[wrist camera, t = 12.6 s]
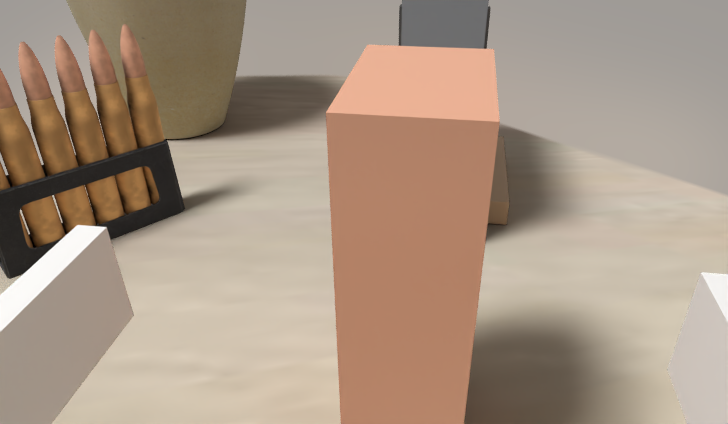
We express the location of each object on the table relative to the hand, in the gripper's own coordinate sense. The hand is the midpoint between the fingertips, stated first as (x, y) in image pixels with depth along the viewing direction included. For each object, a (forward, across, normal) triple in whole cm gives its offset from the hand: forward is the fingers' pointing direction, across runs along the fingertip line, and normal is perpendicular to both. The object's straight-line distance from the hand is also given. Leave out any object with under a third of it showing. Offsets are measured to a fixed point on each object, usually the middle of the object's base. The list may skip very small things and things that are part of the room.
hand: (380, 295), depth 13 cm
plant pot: (+34, -23, -11) cm, 42 cm away
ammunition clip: (+16, -20, -11) cm, 28 cm away
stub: (+5, 0, -11) cm, 12 cm away
